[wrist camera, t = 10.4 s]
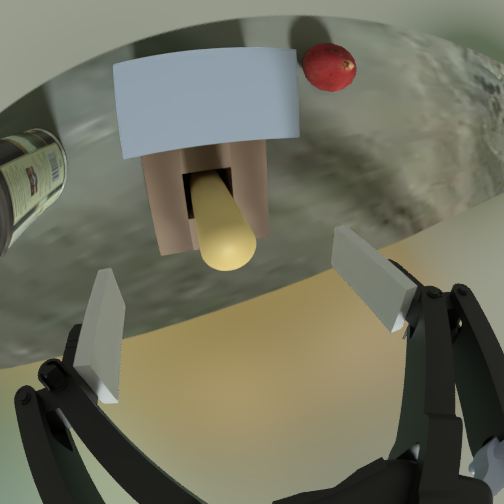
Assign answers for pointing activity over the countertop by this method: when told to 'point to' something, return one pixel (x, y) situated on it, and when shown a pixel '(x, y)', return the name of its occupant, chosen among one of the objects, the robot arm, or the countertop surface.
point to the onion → (329, 67)
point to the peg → (219, 223)
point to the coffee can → (28, 180)
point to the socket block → (200, 159)
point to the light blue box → (206, 98)
